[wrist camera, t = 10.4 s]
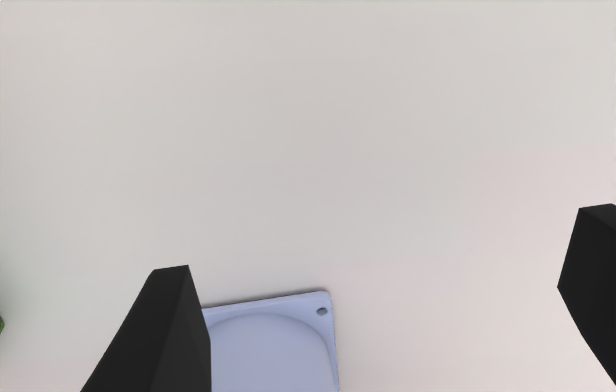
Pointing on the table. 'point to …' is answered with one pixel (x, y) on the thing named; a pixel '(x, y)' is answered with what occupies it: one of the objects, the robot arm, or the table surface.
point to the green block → (1, 325)
